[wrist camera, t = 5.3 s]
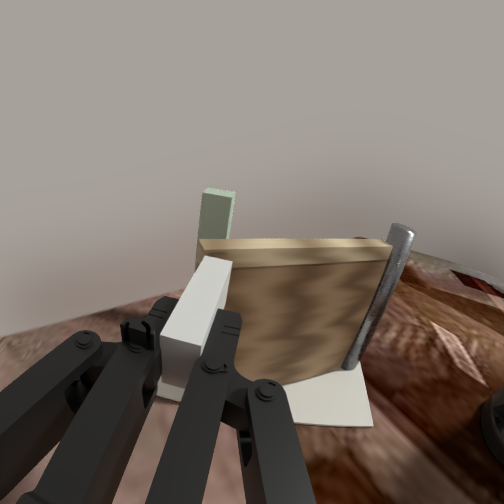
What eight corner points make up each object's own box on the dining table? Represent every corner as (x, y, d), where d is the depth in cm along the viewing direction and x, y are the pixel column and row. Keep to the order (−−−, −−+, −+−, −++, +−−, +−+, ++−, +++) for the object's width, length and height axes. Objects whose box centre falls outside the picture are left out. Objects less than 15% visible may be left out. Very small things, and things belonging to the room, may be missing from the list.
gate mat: (354, 346, 38) (355, 344, 38) (372, 427, 25) (373, 425, 25) (185, 315, 38) (186, 313, 38) (149, 393, 26) (149, 391, 26)
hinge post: (353, 358, 35) (410, 226, 27) (357, 373, 33) (420, 236, 25) (334, 356, 36) (388, 220, 28) (337, 371, 33) (397, 230, 25)
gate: (332, 359, 34) (382, 239, 27) (339, 368, 32) (393, 246, 25) (189, 389, 27) (198, 239, 20) (193, 402, 25) (204, 249, 18)
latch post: (217, 325, 38) (235, 192, 30) (213, 336, 36) (232, 197, 28) (195, 320, 38) (208, 187, 30) (190, 331, 36) (202, 192, 28)
